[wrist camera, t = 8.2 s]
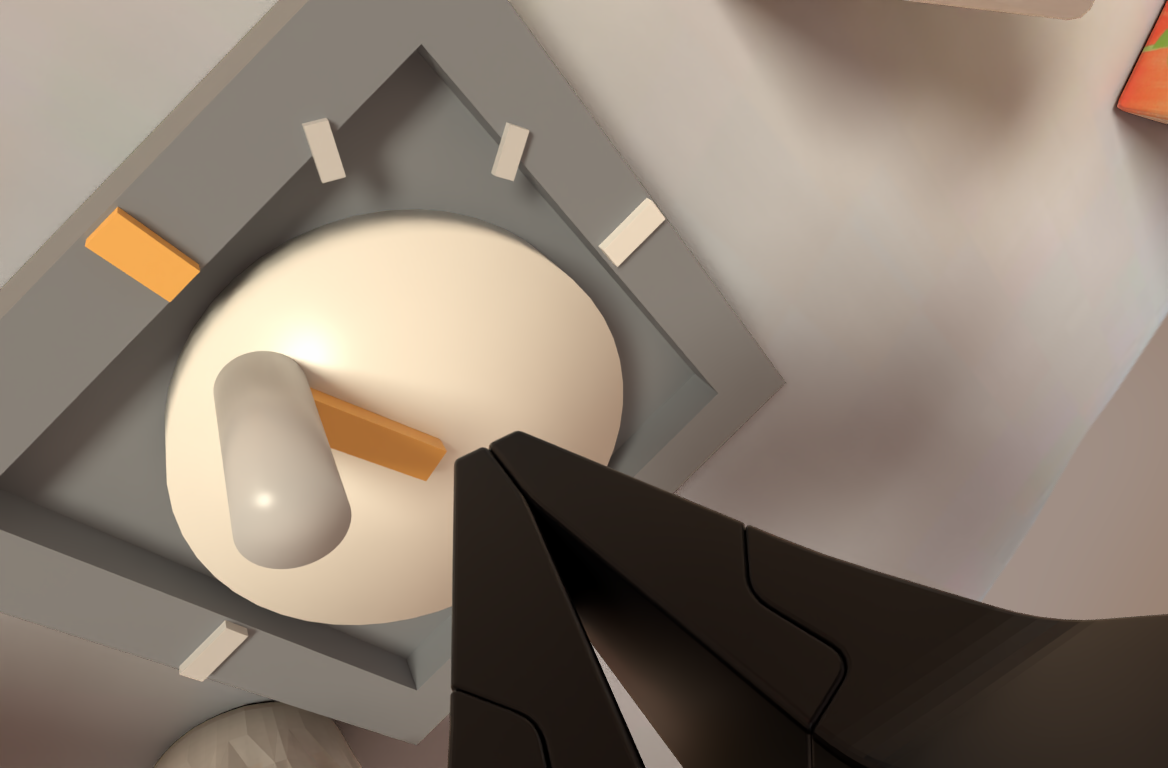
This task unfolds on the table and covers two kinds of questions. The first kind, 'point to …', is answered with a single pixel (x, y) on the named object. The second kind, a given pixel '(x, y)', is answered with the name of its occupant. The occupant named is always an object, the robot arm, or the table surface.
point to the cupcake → (262, 741)
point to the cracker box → (1150, 77)
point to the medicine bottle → (1024, 6)
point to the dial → (373, 406)
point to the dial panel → (261, 224)
